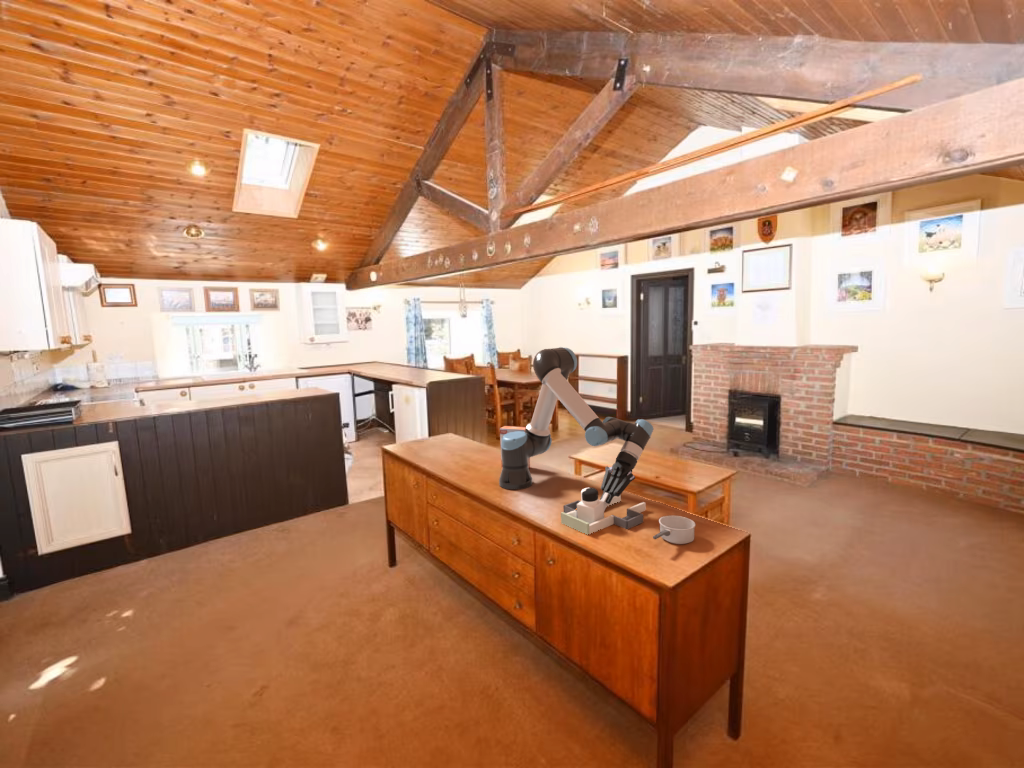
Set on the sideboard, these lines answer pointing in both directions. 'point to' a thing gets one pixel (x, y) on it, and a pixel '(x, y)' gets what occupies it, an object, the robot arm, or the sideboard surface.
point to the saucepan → (676, 529)
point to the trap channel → (612, 516)
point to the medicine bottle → (590, 506)
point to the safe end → (575, 523)
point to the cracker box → (506, 430)
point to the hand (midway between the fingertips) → (600, 509)
